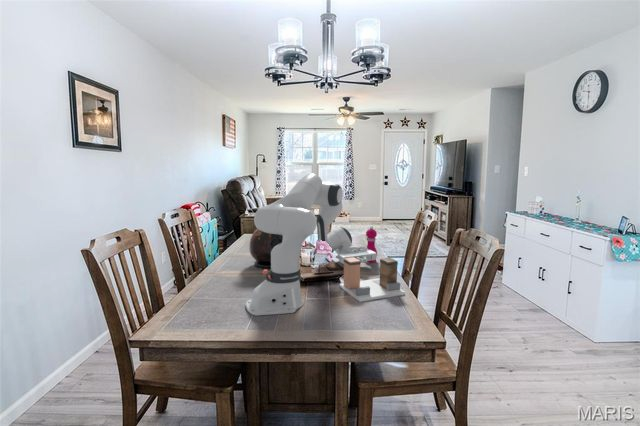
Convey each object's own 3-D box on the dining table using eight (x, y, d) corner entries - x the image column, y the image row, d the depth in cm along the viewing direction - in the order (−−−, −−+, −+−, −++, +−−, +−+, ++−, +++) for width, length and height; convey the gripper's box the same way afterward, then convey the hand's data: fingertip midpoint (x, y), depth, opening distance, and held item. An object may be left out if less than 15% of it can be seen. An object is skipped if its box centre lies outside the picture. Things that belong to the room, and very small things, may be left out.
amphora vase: (297, 266, 190) (296, 215, 186) (259, 274, 178) (258, 218, 174) (278, 257, 208) (277, 210, 203) (243, 263, 196) (242, 213, 191)
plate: (359, 301, 144) (359, 291, 143) (339, 286, 161) (339, 277, 161) (405, 294, 152) (405, 285, 152) (381, 280, 170) (381, 271, 169)
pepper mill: (376, 263, 197) (377, 228, 194) (363, 262, 199) (364, 227, 196) (377, 259, 204) (378, 225, 201) (364, 259, 206) (365, 225, 203)
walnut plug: (386, 289, 154) (387, 262, 152) (379, 284, 160) (380, 258, 158) (396, 287, 156) (397, 261, 154) (389, 283, 162) (390, 257, 160)
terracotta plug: (349, 288, 154) (350, 262, 152) (343, 284, 160) (343, 258, 158) (360, 287, 156) (360, 260, 154) (353, 282, 162) (354, 257, 160)
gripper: (334, 250, 185) (346, 257, 173) (368, 246, 193) (382, 253, 180) (334, 261, 186) (345, 269, 174) (368, 257, 194) (382, 265, 181)
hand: (364, 261), depth 177 cm, fingers closed
